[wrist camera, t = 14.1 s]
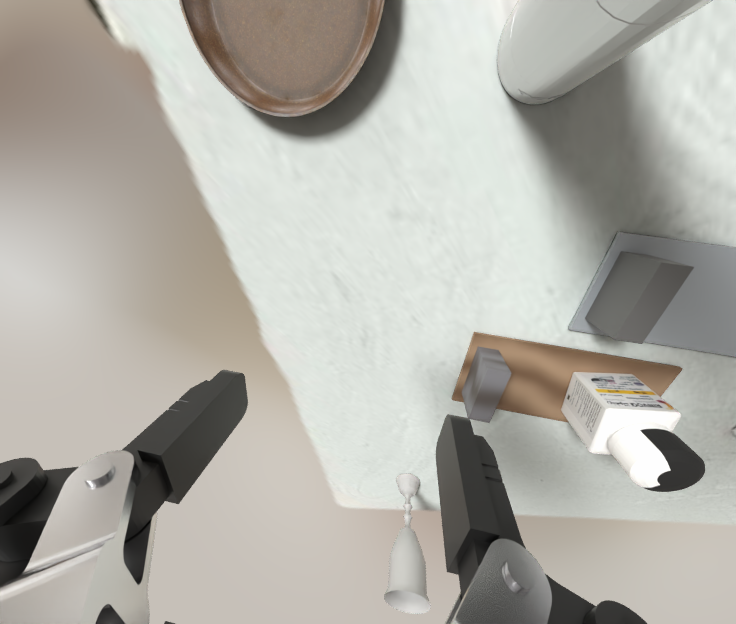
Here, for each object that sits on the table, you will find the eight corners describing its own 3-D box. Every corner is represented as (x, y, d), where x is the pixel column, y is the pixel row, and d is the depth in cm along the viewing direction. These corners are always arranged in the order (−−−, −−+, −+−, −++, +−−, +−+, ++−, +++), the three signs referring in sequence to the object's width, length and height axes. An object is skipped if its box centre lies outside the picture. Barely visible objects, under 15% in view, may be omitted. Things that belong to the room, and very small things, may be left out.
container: (632, 372, 37) (736, 457, 25) (614, 413, 40) (699, 505, 28) (572, 370, 38) (644, 450, 26) (559, 410, 41) (618, 496, 29)
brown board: (474, 332, 38) (484, 355, 33) (679, 366, 36) (726, 397, 30) (451, 398, 44) (457, 426, 38) (627, 431, 41) (660, 467, 36)
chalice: (386, 473, 55) (376, 590, 39) (416, 467, 53) (418, 589, 36) (400, 494, 57) (396, 613, 41) (429, 489, 55) (438, 613, 39)
